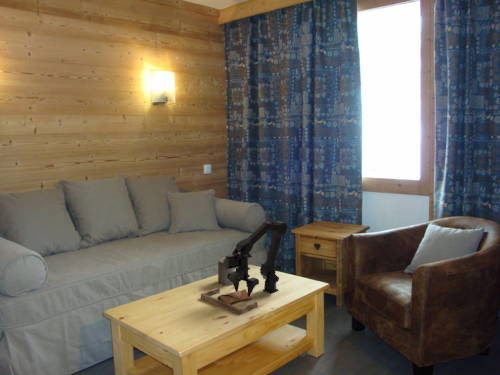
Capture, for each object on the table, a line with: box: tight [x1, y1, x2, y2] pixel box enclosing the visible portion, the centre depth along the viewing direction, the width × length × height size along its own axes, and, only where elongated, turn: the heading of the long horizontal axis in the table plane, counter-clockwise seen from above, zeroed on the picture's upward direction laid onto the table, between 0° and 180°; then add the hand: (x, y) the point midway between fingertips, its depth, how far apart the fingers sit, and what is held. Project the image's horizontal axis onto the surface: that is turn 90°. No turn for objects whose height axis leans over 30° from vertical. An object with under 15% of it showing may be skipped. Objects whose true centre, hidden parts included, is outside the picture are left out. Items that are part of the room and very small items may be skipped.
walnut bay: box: [200, 287, 258, 315], centre depth 238 cm, size 13×29×2 cm, turn 47°
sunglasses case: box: [217, 289, 254, 305], centre depth 241 cm, size 18×7×7 cm, turn 125°
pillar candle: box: [217, 257, 236, 286], centre depth 266 cm, size 10×10×15 cm
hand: (242, 293), depth 245 cm, fingers open, 9 cm apart
